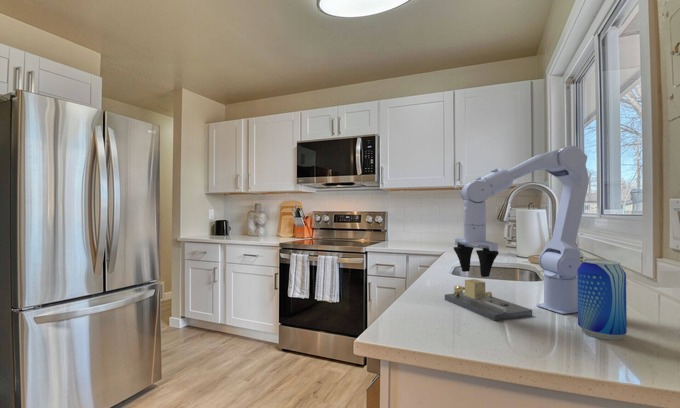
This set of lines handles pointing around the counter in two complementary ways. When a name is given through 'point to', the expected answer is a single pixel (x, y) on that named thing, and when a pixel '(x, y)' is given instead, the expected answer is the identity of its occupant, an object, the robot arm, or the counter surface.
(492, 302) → the bolt plate
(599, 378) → the counter surface
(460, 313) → the counter surface
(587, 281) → the beer can
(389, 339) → the counter surface
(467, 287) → the leg
